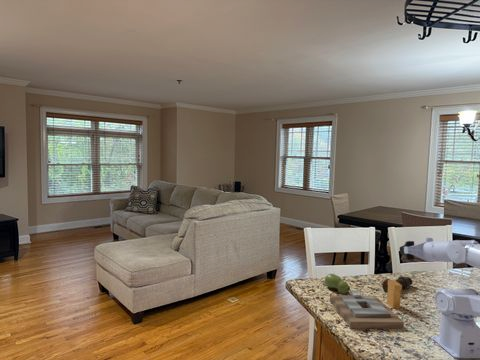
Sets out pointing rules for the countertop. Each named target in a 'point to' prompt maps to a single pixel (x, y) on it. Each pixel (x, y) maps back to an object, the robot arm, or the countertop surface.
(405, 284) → the bolt
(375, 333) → the countertop surface
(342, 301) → the brown grey stepped board
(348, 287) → the pear
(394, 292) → the notched wooden block
